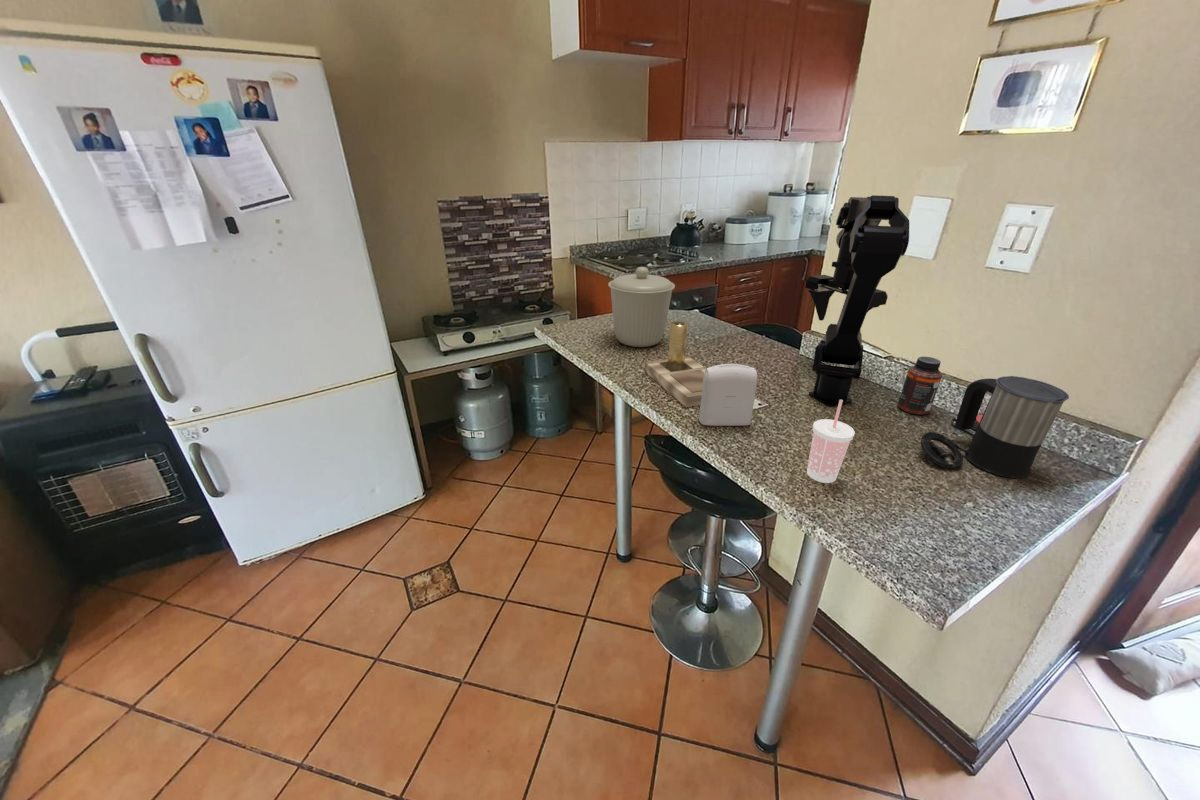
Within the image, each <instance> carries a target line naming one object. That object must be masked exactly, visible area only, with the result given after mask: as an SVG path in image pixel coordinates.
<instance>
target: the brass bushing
mask: <svg viewBox="0 0 1200 800" xmlns="http://www.w3.org/2000/svg"><path fill="white" fill-rule="evenodd" d="M688 331H689V323H688V322H686V321H682V320H681V321H680V320H674V321H672V322H671V321H670V330H669V342H668V352H667V353H668V354H667V355H668V357H667V359H668V365H667V370H669V371H670V372H674V371H681V370H684V364H685V357H686V352H687V341H688Z"/></svg>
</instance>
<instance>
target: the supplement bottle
mask: <svg viewBox="0 0 1200 800" xmlns="http://www.w3.org/2000/svg"><path fill="white" fill-rule="evenodd" d="M915 363H916V364H914V365H912V366H910V367H909V369H908V370H907V373H906V375H905V379H904V382H903V385H902V388H901V392H900V395H899V399H898V402H897V407H898V408H899V409H901V410H903V412H905V413H908V414H912V415H918V416H919V415H927V414H929V413H930V412H931V409H932V406H933V403H934V401H935V397H936V395H937V391H938V389H939V386H940V383H941V381H942V377H943V374H942V372H941V371H940V370H939V369H940V366H941V363H942V362H941V360H939V358H935V357H931V356H918V357H917V360H916V362H915Z"/></svg>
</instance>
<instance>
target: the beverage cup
mask: <svg viewBox="0 0 1200 800" xmlns="http://www.w3.org/2000/svg"><path fill="white" fill-rule="evenodd" d="M842 402H843V400H841V399H840V400H839V404H838V405H837V408H836V413H835V416H834V419H829V418H823V419H817V420H816V421H814V422H813V424H812V428H811V429H812V432H813V433H812V438H811V439H812V440H811V445H810V451H809V456H808V463H807V469H806V473H807V475H808V477H809V478H810V479H813V480H814V481H816V482H819V483H822V484H823V483H824V484H831V483H834V482H835V481H837V477H838V475H839V472H840V469H841V468H842V464H843V462H844V459H845V457H846V453H847V450H848V448H849V445H850V442H851V441H853V439H854V437H855V433H856V432H855V430H854V428H853V427H852V426H850V425H849V424H847V423H845V422H842V421H840V420H839V416H840V412H841V409H842V406H843V404H842Z"/></svg>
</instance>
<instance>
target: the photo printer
mask: <svg viewBox="0 0 1200 800" xmlns="http://www.w3.org/2000/svg"><path fill="white" fill-rule="evenodd" d="M757 384H758V372H757V370H756V368H754V367H752V366H749V365H745V364H744V365H743V364H737V363H723V364H717V365H716V364H715V365H713V366H710V367H707V368H706V370H705V375H704V378H703V387H702V397H701V405H700V408H699V417H698V418H699V419H698V421H699V423H700V424H702V425H703V426H716V427H717V426H721V427H722V426H724V427H725V426H731V427H732V426H735V427H736V426H739V427H740V426H750V425H751V422H752V415H753V409H754V404H755V399H756V398H755V396H756V392H757V391H756V390H757Z"/></svg>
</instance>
